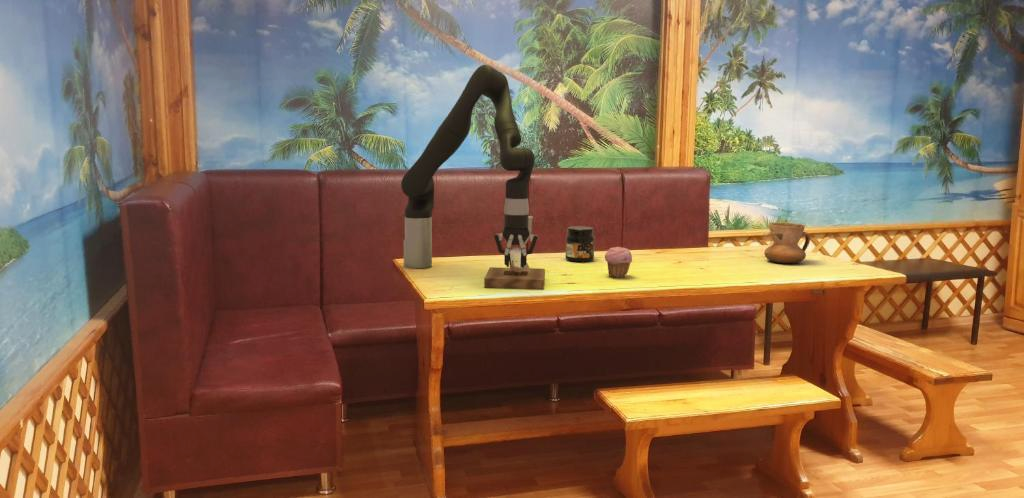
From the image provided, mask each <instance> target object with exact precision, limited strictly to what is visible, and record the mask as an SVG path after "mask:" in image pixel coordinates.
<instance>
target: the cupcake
mask: <svg viewBox="0 0 1024 498" xmlns="http://www.w3.org/2000/svg"><path fill="white" fill-rule="evenodd" d="M604 259H605V262H606V263H607V270H608V275H609V276H610V277H613V278H616V279H620V278H621V279H622V278H625V276H627V274H628V272H629V269H630V265H631V263H632V262H633V256H632V253H631V251H630V250H629V249H628V248H626V247H622V246H616V247H610V248H609V249H608V250H607V251H606V253H605V254H604Z"/></svg>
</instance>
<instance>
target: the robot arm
mask: <svg viewBox="0 0 1024 498" xmlns="http://www.w3.org/2000/svg"><path fill="white" fill-rule="evenodd" d="M482 95H483V96H484V97H486V98H488V99H490V101H491V102H492V104H493V105H494V108H495V114H494V115H495V117H494V121H493V122H494V130H495V133H496V135H497V139H498V143H499V153H500V154H499V155H500V156H499V160H500V161H499V163H500V165H501V167H502V168H503V170H505V171H508V172H518V174H517V176H516V177H512V178H509V179H507V180H506V181H505V200H504V209H503V210H504V213H503V214H504V216H503V217H504V221H503V222H504V223H503V231H502V232H500V233H495V235H494V240H495V243H496V247H497V250H498V253H499V254H502V255H503V256H504V258H503V259H504V265H505V266H506V268H510V262H509V250H510V249H511V247H512V246H514V245H516V246H520V249H521V250H522V253H523V256H522V267H524V266H526V262H527V256H528V255H531V254H533V252H534V249H535V246H536V243H537V240H538V235H537V234H532V233H531V234H530V232H529V230H528V216H530V215H529V213H530V209H529V208H530V207H529V206H530V205H529V184H530V179H531V176H532V173H533V169H534V166H535V160H536V159H535V153H534V152H533V150H532V149H531V148H530V147H529V148H528V147H518V146H519V145H520V144H521V143H522V136H521V132H520V128H519V127H518V123H517V121H516V118H515V114H514V111H513V110H514V109H513V105H512V98H511V92H510V87H509V81H508V79H507V77H506V75H505V74H504V73H503V72H501V71H499V70H498V69H496V68H494V67H493V66H491V65H489V64H481V65H479V66H478V67H477V68H476V69H475V71H473V72H472V75H471V77H470V78H469V79H468V82H467V83H466V85H465V87H464V89H463V90H462V92H461V94H460V96H459V97H458V99H457V101H456V102H455V104H454V106H453V107H452V108H451V110H450V112H449V113H448V115H447V116H446V117H445V118H444V120H443V121H442V123H441V124H440V125H439V127H438V128H437V130H436V131H435V133H434V135H433V136H432V137H431V139H430V141H429V142H428V144H427V145H426V147H425V149H424V150H423V152H422V153H421V155H420V156H419V157H418V159H417V160H416V161H415V162H414V163H413V164H412V166H411V167H410V168H409V169H408V170H407V172H405V174H404V175H403V177H402V179H401V181H400V186H401V187H400V188H401V191H402V193H403V194H404V195H405V196H406V197H408V201H407V203H406V207H405V208H404V239H403V268H409V269H427V268H432V266H433V241H432V240H433V236H432V235H433V234H432V233H433V230H432V229H433V226H432V225H433V224H432V223H433V219H432V217H433V216H432V215H433V214H432V213H433V209H434V204H435V203H434V202H435V181H434V176H435V174H436V172H437V171H438V169H439V168H440V167H441V166H442V165H443V164H444V163H445V162H447V160H449V159H450V158H451V157H452V156H453V155H454V154H455V153H456V152H457V151H458V149H459V148H460V147H461V146H462V144H463V143H464V141H465V140H466V138H467V137H468V135H469V134H470V129H471V125H472V115H473V110H474V108H475V106H476V104H477V103H478V101H479V100H480V98H481V97H482ZM528 237H529V241H530V242H531V243H530V246H529V249H526V244H525V243H524V242H525V241H526V240H527V238H528ZM503 238H504V239H505V241H506V242H507V243H506V247H505V249H504V248H503V245H502V240H503Z"/></svg>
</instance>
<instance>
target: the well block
mask: <svg viewBox="0 0 1024 498" xmlns="http://www.w3.org/2000/svg"><path fill="white" fill-rule="evenodd" d="M545 275H546V269H545V268H536V267H535V268H532V267H529V268H522V270H521V276H511V275H510V267H495V266H494V267H492V266H490V267H488V269H487V272H486V273H485V276H484V278H483V279H484V281H483V283H484V289H509V290H511V289H513V290H514V289H515V290H517V289H518V290H544V287H545V281H546V276H545Z"/></svg>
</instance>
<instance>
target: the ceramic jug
mask: <svg viewBox="0 0 1024 498" xmlns="http://www.w3.org/2000/svg"><path fill="white" fill-rule="evenodd" d="M805 227H806V225H805V224H803V223H797V222H788V221H787V222H786V221H783V222H781V221H775V222H770V223H769V227H768V228H769V231H766V232H764V233H763V236H764V237H769V236H770V237H771V238H772V241H773V243H772V244H771V245H770V246H768V247H766V248H765V250H764V257H765V258H766V259H767V260H768V261H770V262H773V263H775V264H785V265H787V264H788V265H789V264H790V265H791V264H796V263H797V264H798V263H799V262H802V261H804V260H805V259H806V258H807V257H806V256H807V255H806V251H807V249H808V247H809V245H810V241H811V235H810V234H809V232H808V231H805ZM803 236H805V240H804V244H803V246H802V247H800V246H799V245H798V244H799V242H800V240H801V238H802V237H803Z"/></svg>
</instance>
